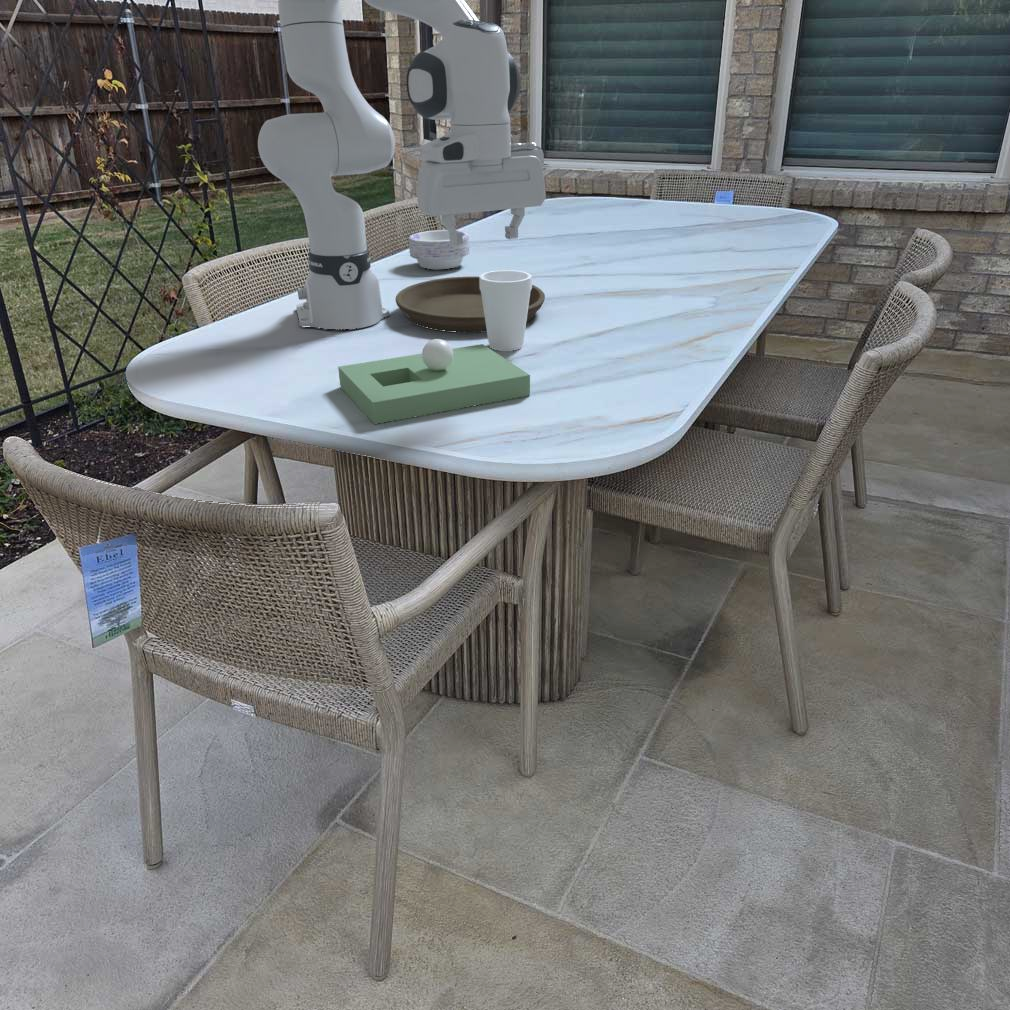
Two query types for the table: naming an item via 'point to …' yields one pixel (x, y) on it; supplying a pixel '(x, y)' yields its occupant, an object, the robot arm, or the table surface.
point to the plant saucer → (452, 304)
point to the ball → (437, 354)
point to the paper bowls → (437, 249)
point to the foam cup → (505, 307)
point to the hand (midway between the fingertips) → (484, 241)
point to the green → (432, 384)
